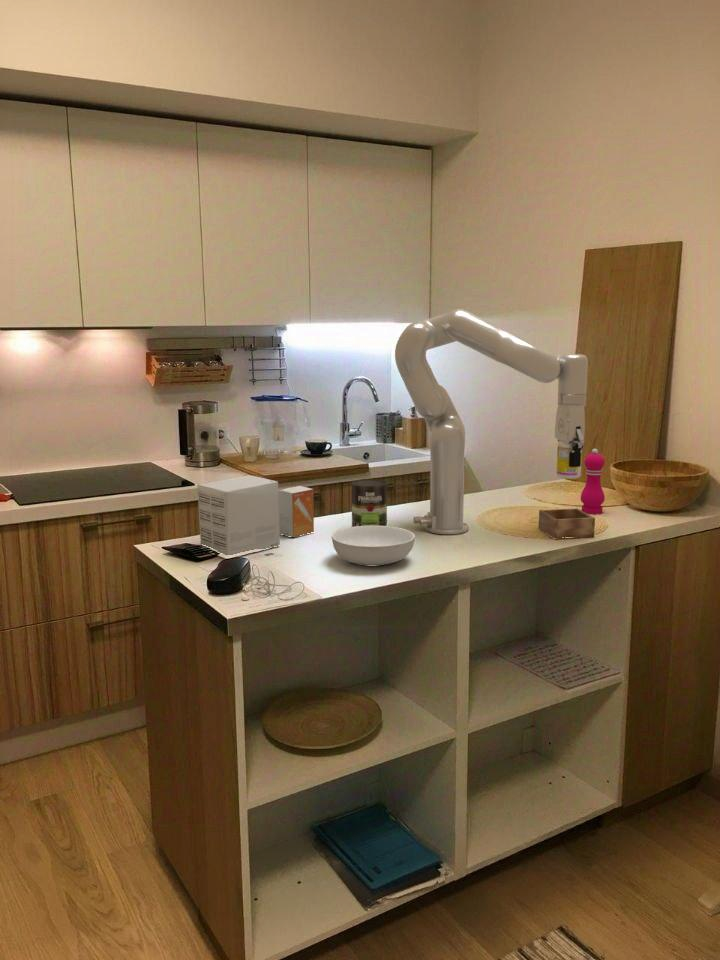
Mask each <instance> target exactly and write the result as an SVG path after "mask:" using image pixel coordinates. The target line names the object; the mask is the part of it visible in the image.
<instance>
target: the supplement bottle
mask: <svg viewBox="0 0 720 960" xmlns="http://www.w3.org/2000/svg"><path fill="white" fill-rule="evenodd" d="M572 441H577V440H572ZM573 445H574V446H575V444H573ZM556 448H557V450H556V451H557V453H556V455H557V456H556V476H557V477H558V478H561V479H570V480H571V479H572V480H573V479H578V478H580V477H581V476H582V463H583V461H582V459H583V451H582V452H581V466H580V467H569V452H571V449H570V442H569V443H566V442H563V441H561V440H560V441H559V442H558V441H557V447H556Z"/></svg>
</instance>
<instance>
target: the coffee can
mask: <svg viewBox="0 0 720 960" xmlns="http://www.w3.org/2000/svg"><path fill="white" fill-rule="evenodd" d="M350 486H351V527H355V526H370V525H374V526H388V523H387V522H388V519H387V518H388V509H387V508H388V482H387V481H385V480H382V479H375V478H374V479H373V478H368V479H367V478H365V479H364V478H363V479H362V478H361V479H356V480H352V481H351V482H350Z"/></svg>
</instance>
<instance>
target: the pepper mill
mask: <svg viewBox="0 0 720 960" xmlns="http://www.w3.org/2000/svg"><path fill="white" fill-rule="evenodd" d="M605 464H606V463H605V458H604V456H603V455H602V454H600V453H599V450H598V449H597V448H593V449H592V450H591V453H590V454H587V455H586V457H585V458H584V466H585V467H586V468H585V472H584V473H585V474H586V482H585V485H584V488H583V489H582V491H581V493H580V502H581V503H582V505H581V511H583V512H585V513H587V514H589V515H599V514H602V513H603V506H602V504H603V503H604V502H605V498H606V497H605V496H606V495H605V493H604V490H603V488H602V487H603V486H602V484H601V475H603V469H602V468H604V466H605Z"/></svg>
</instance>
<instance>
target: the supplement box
mask: <svg viewBox="0 0 720 960" xmlns="http://www.w3.org/2000/svg"><path fill="white" fill-rule="evenodd" d="M196 486H197V502H198V520H199V534H200V535H199V536H200V538H199V539H200V540H199V541H200V545H201V544H203V545H206V546H208V547H211V548H213V549H215V550H217V551H218V552H220V553H223V554H225V555H233V554H237V553H240V552H245V551H249V550H254V549H266V548H270V547H274V546H278V545H280V546H281V538H280V537H281V535H280V532H279V500H278V490H279V481H277V480H272V479H268V478H265V477H260V476H256V475H250V474H248V475H244V476H239V477H234V478H233V477H232V478H228V479H222V480H218V481H212V482H207V483H201V484H197V485H196Z"/></svg>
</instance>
